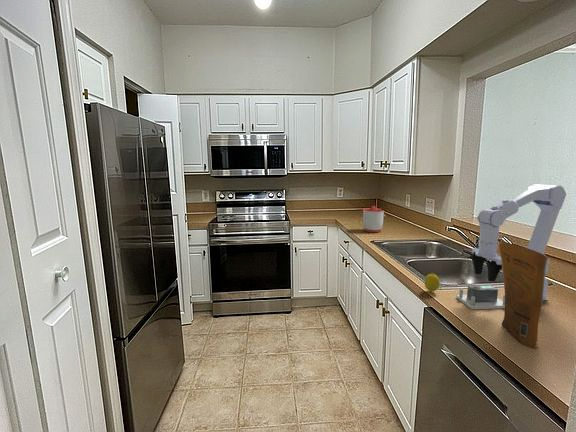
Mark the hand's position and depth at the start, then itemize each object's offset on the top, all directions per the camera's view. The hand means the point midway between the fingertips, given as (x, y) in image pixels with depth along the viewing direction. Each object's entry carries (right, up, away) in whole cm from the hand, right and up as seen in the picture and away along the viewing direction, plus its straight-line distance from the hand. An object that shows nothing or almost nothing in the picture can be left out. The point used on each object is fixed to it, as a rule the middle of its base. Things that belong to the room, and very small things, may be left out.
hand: (484, 277), depth 120 cm
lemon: (-15, -8, +11) cm, 20 cm away
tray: (0, -10, +1) cm, 10 cm away
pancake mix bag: (-3, -14, -21) cm, 25 cm away
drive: (-1, -9, +1) cm, 9 cm away
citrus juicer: (-8, +11, +125) cm, 126 cm away
